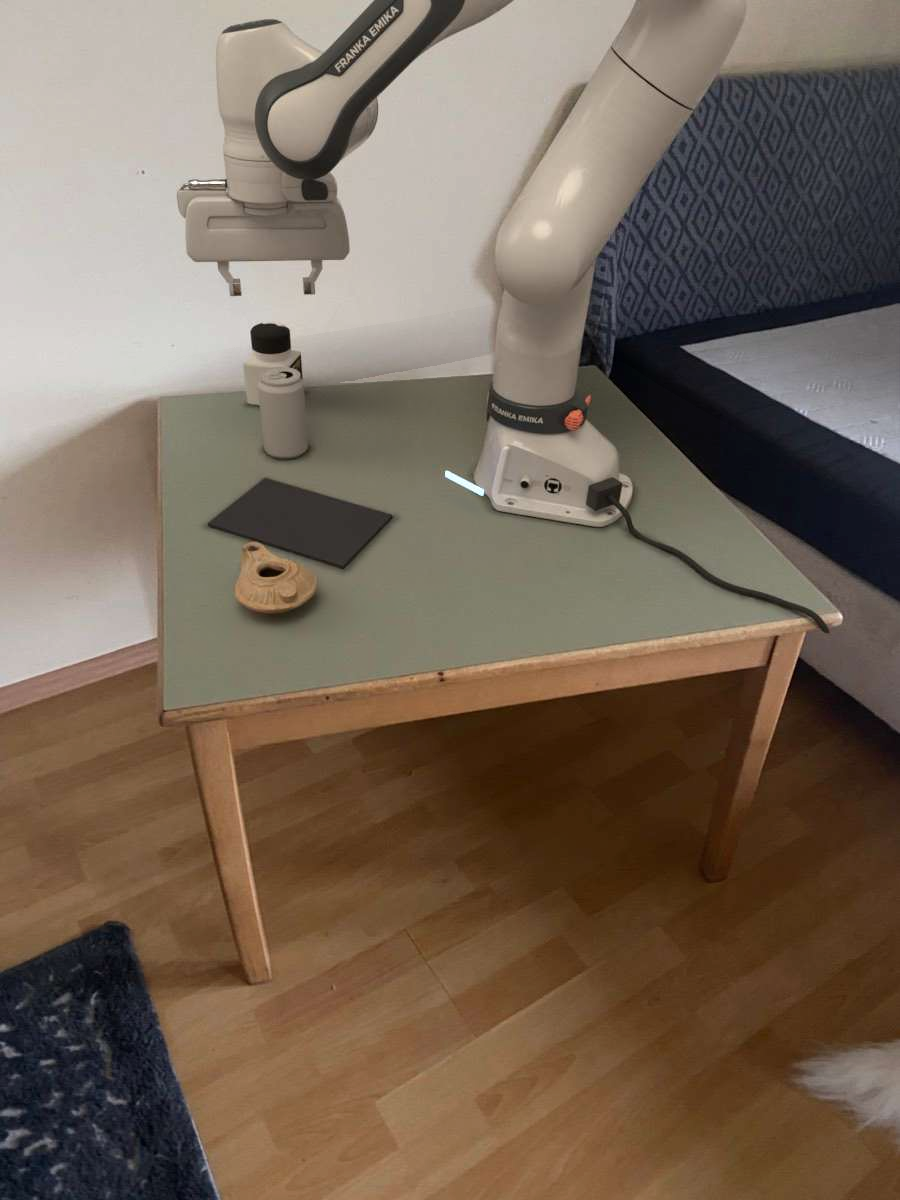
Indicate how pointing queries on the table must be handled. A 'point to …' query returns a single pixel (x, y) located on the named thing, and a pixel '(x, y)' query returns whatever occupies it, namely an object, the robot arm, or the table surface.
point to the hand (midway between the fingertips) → (272, 294)
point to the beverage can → (283, 412)
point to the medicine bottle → (268, 355)
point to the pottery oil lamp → (272, 581)
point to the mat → (302, 522)
